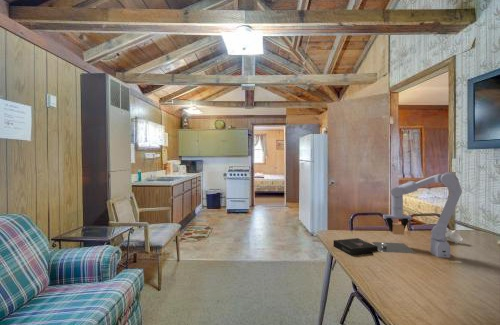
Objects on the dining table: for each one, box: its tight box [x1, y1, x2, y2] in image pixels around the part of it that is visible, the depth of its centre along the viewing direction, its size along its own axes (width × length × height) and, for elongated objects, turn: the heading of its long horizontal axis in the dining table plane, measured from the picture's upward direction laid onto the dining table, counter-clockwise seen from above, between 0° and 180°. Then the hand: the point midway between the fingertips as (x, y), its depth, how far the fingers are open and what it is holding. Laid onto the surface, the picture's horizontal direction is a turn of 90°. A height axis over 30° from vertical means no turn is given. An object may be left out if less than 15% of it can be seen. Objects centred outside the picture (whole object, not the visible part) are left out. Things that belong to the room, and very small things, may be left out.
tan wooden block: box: [389, 222, 405, 236], centre depth 164 cm, size 6×6×5 cm
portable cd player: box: [333, 237, 379, 257], centre depth 162 cm, size 16×17×4 cm
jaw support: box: [445, 227, 464, 245], centre depth 176 cm, size 12×9×10 cm
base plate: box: [371, 241, 417, 254], centre depth 162 cm, size 18×18×4 cm
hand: (396, 231), depth 164 cm, fingers closed on tan wooden block, 6 cm apart
